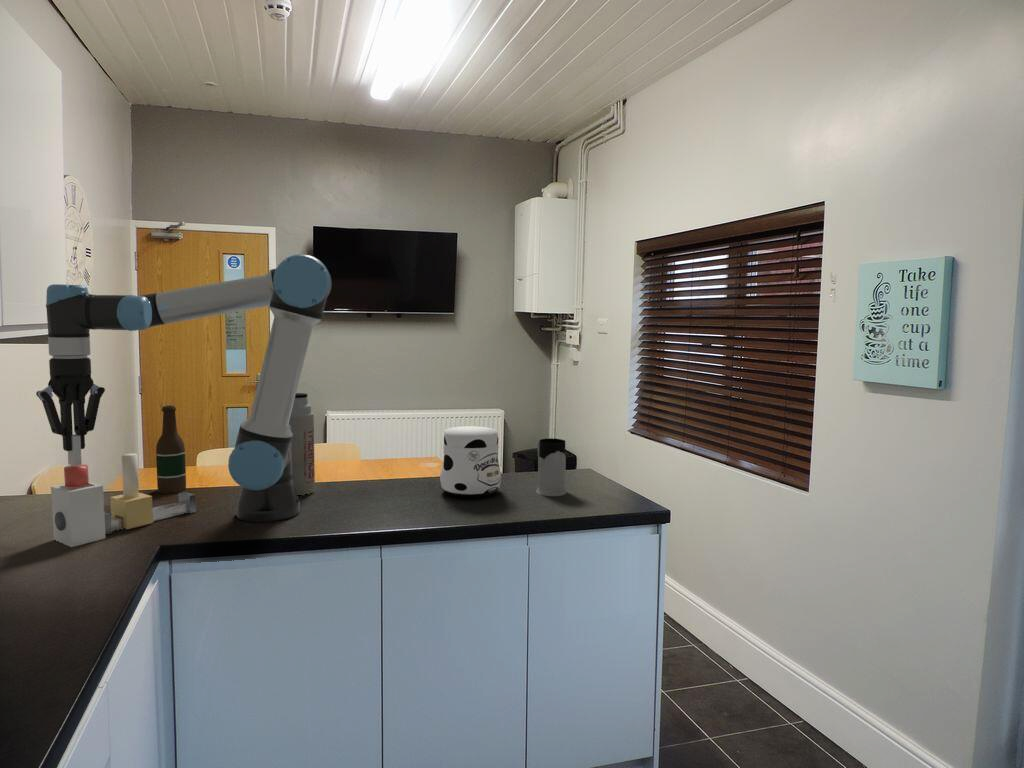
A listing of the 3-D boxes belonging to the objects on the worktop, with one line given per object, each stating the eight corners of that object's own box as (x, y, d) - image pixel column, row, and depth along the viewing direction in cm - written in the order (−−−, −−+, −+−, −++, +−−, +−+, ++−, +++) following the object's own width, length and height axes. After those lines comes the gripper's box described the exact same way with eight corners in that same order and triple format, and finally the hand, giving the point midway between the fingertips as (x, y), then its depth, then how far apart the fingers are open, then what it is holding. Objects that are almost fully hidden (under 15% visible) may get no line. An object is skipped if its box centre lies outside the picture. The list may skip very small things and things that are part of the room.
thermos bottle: (320, 491, 193) (319, 393, 190) (298, 497, 186) (296, 396, 184) (301, 487, 197) (300, 391, 194) (279, 492, 191) (277, 393, 188)
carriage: (153, 522, 162) (150, 454, 160) (127, 529, 157) (124, 459, 155) (137, 517, 165) (134, 450, 164) (111, 523, 160) (108, 455, 159)
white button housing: (105, 538, 151) (103, 485, 150) (69, 547, 145) (66, 492, 144) (87, 531, 156) (85, 480, 154) (51, 540, 149) (48, 486, 148)
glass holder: (543, 497, 190) (544, 444, 189) (524, 485, 203) (525, 435, 202) (571, 494, 193) (573, 442, 192) (551, 482, 207) (552, 434, 205)
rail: (196, 512, 172) (195, 494, 171) (104, 535, 153) (103, 515, 153) (184, 508, 174) (184, 491, 174) (93, 530, 156) (92, 511, 156)
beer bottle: (163, 487, 195) (160, 404, 193) (191, 486, 196) (188, 404, 193) (151, 494, 187) (148, 408, 185) (180, 494, 188) (177, 408, 186)
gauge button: (92, 484, 150) (91, 466, 149) (70, 488, 146) (69, 470, 146) (82, 481, 152) (81, 463, 152) (61, 485, 149) (60, 467, 148)
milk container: (499, 501, 185) (500, 436, 183) (436, 500, 185) (436, 435, 184) (501, 485, 202) (502, 426, 201) (443, 484, 203) (444, 425, 201)
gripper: (93, 354, 154) (97, 457, 156) (27, 357, 143) (33, 467, 145) (110, 356, 150) (114, 462, 152) (44, 359, 139) (49, 472, 141)
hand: (74, 464), depth 149 cm, fingers closed
